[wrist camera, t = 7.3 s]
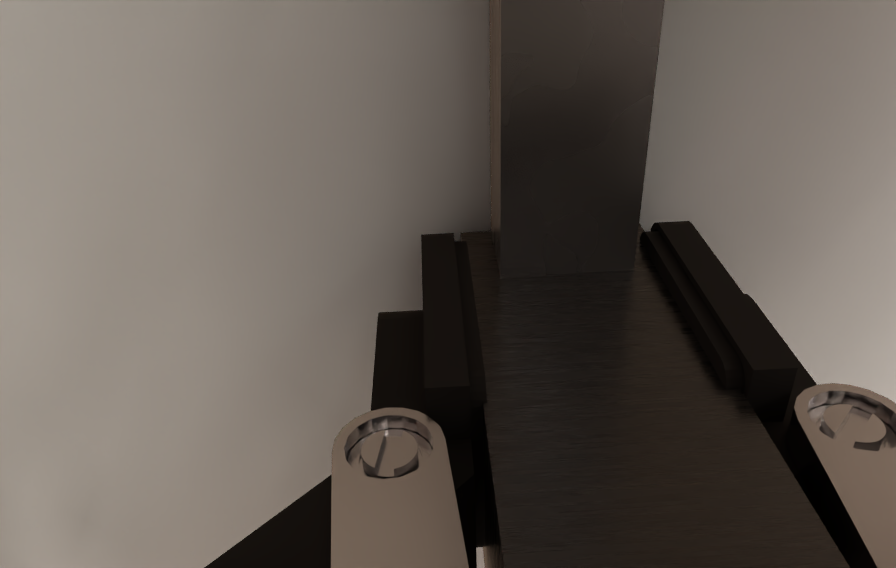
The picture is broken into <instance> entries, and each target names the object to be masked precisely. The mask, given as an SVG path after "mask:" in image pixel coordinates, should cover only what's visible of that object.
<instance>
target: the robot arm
mask: <svg viewBox="0 0 896 568" xmlns="http://www.w3.org/2000/svg"><path fill="white" fill-rule="evenodd" d="M640 241H641V243H642V245H643V246H644V248H645V250H646V252H647V253H648V255H649V257H650V259H651V260H652V262H653V264H654V265H655V267H656V269H657V271H658V272H659V274H660V276H661V278H662V279H663V281H664V283H665V284H666V286H667V288H668V290H669V291H670V293H671V295H672V297H673V298H674V300H675V302H676V303H677V305H678V307H679V309H680V310H681V312H682V314H683V316H684V317H685V319H686V321H687V322H688V324H689V326H690V328H691V329H692V331H693V333H694V335H695V336H696V338H697V340H698V341H699V343H700V345H701V347H702V348H703V350H704V352H705V354H706V355H707V357H708V359H709V361H710V362H711V364H712V366H713V367H714V369H715V371H716V373H717V374H718V376H719V378H720V380H721V381H722V383H723V385H724V386H725V388H726V389H741V390H742V392H743V393H744V395H745V397H746V398H747V400H748V402H749V403H750V405H751V407H752V408H753V410H754V411H755V413H756V415H757V416H758V418H759V420H760V421H761V423H762V425H763V426H764V428H765V429H766V431H767V433H768V434H769V436H770V438H771V439H772V441H773V443H774V444H775V446H776V448H777V449H778V451H779V452H780V454H781V456H782V457H783V459H784V461H785V462H786V464H787V466H788V467H789V469H790V470H791V472H792V474H793V475H794V477H795V479H796V480H797V482H798V484H799V485H800V487H801V488H802V490H803V492H804V493H805V495H806V497H807V498H808V500H809V502H810V503H811V505H812V506H813V508H814V510H815V511H816V513H817V515H818V516H819V518H820V520H821V521H822V523H823V524H824V526H825V528H826V529H827V531H828V533H829V534H830V536H831V538H832V539H833V541H834V542H835V544H836V546H837V547H838V549H839V551H840V552H841V554H842V556H843V557H844V559H845V560H846V562H847V564H848V565H849V567H850V568H896V403H894V402H893V401H891V400H889V399H888V398H886V397H884V396H882V395H879V394H877V393H875V392H873V391H870V390H868V389H864V388H860V387H856V386H852V385H846V384H835V383H830V384H820V385H817V384H816V383H815V382H814V380H813V379H812V378H811V376H810V375H809V374H808V372H807V371H806V370H805V368H804V367H803V366H802V364H801V363H800V362H799V360H798V359H797V358H796V356H795V355H794V354H793V352H792V351H791V350H790V348H789V347H788V346H787V344H786V343H785V341H784V340H783V339H782V337H781V336H780V335H779V333H778V332H777V331H776V329H775V328H774V327H773V325H772V324H771V323H770V321H769V320H768V319H767V317H766V316H765V315H764V313H763V312H762V311H761V309H760V308H759V307H758V305H757V304H756V303H755V301H754V300H753V299H752V298H751V297H750V296H749V295H748V294H743V292H742V291H741V290H740V288H739V287H738V286H737V284H736V283H735V282H734V280H733V279H732V277H731V276H730V275H729V273H728V272H727V271H726V269H725V268H724V267H723V265H722V264H721V263H720V261H719V260H718V258H717V257H716V256H715V254H714V253H713V252H712V250H711V249H710V248H709V246H708V245H707V243H706V242H705V241H704V239H703V238H702V237H701V235H700V234H699V233H698V231H697V230H696V229H695V227H694V226H693V224H692V223H691V222H689V221H682V222H662V223H654V224H653V226H652V228H651V232H642V234H641V236H640ZM421 242H422V288H423V310H418V311H399V312H380V313H379V314H378V322H377V335H376V349H375V362H374V376H373V389H372V403H371V411H369V412H367V413H365V414H363V415H360V416H358V417H356V418H354V419H353V420H352V421H350V422H349V423H348V424H347V425H345V426H344V427H343V428H342V429H341V431H340V432H339V434H338V435H337V437H336V438H335V440H334V445H333V449H332V475H330V476H329V477H328V478H326V479H325V480H324V481H322V482H321V483H319V484H318V485H317V486H315V487H314V488H313V489H311V490H310V491H309V492H307V493H306V494H304V495H303V496H302V497H300V498H299V499H298V500H296V501H295V502H293V503H292V504H291V505H289V506H288V507H287V508H285V509H284V510H283V511H281V512H280V513H278V514H277V515H276V516H274V517H273V518H272V519H270V520H269V521H268V522H266V523H265V524H263V525H262V526H261V527H259V528H258V529H257V530H255V531H254V532H253V533H251V534H250V535H248V536H247V537H246V538H244V539H243V540H242V541H240V542H239V543H238V544H236V545H235V546H233V547H232V548H231V549H229V550H228V551H227V552H225V553H224V554H222V555H221V556H220V557H218V558H217V559H216V560H214V561H213V562H212V563H210V564H209V565H207V566H206V567H205V568H477V565H476V547H485V512H484V438H483V403H487V395H486V380H485V370H484V363H483V356H482V348H481V341H480V334H479V326H478V319H477V312H476V305H475V297H474V290H473V283H472V275H471V268H470V261H469V253H468V246H467V241H455V242H454V233H446V234H426V235H421Z"/></svg>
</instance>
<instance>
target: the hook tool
mask: <svg viewBox="0 0 896 568" xmlns="http://www.w3.org/2000/svg"><path fill="white" fill-rule="evenodd" d="M489 8H490V186H491V231H485V232H466V233H461V241H467V246H468V253H469V261H470V268H471V275H472V283H473V290H474V297H475V305H476V312H477V319H478V326H479V334H480V341H481V348H482V356H483V363H484V370H485V380H486V395H487V403H483V438H484V512H485V547H483V553H484V563H485V568H850V567H849V565H848V564H847V562H846V560H845V559H844V557H843V556H842V554H841V552H840V551H839V549H838V547H837V546H836V544H835V542H834V541H833V539H832V538H831V536H830V534H829V533H828V531H827V529H826V528H825V526H824V524H823V523H822V521H821V520H820V518H819V516H818V515H817V513H816V511H815V510H814V508H813V506H812V505H811V503H810V502H809V500H808V498H807V497H806V495H805V493H804V492H803V490H802V488H801V487H800V485H799V484H798V482H797V480H796V479H795V477H794V475H793V474H792V472H791V470H790V469H789V467H788V466H787V464H786V462H785V461H784V459H783V457H782V456H781V454H780V452H779V451H778V449H777V448H776V446H775V444H774V443H773V441H772V439H771V438H770V436H769V434H768V433H767V431H766V429H765V428H764V426H763V425H762V423H761V421H760V420H759V418H758V416H757V415H756V413H755V411H754V410H753V408H752V407H751V405H750V403H749V402H748V400H747V398H746V397H745V395H744V393H743V392H742V390H741V389H726V388H725V386H724V385H723V383H722V381H721V380H720V378H719V376H718V374H717V373H716V371H715V369H714V367H713V366H712V364H711V362H710V361H709V359H708V357H707V355H706V354H705V352H704V350H703V348H702V347H701V345H700V343H699V341H698V340H697V338H696V336H695V335H694V333H693V331H692V329H691V328H690V326H689V324H688V322H687V321H686V319H685V317H684V316H683V314H682V312H681V310H680V309H679V307H678V305H677V303H676V302H675V300H674V298H673V297H672V295H671V293H670V291H669V290H668V288H667V286H666V284H665V283H664V281H663V279H662V278H661V276H660V274H659V272H658V271H657V269H656V267H655V265H654V264H653V262H652V260H651V259H650V257H649V255H648V253H647V252H646V250H645V248H644V246H643V245H642V243H641V241H640V236H641V234H642V232H645V231H644V230H643V228H642V227H641V225H640V223H639V219H640V210H641V201H642V192H643V183H644V175H645V166H646V157H647V148H648V139H649V131H650V122H651V113H652V104H653V95H654V87H655V78H656V69H657V60H658V52H659V43H660V34H661V25H662V16H663V8H664V0H489Z"/></svg>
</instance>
